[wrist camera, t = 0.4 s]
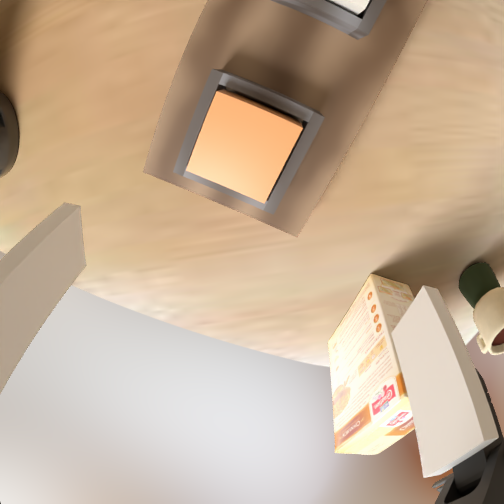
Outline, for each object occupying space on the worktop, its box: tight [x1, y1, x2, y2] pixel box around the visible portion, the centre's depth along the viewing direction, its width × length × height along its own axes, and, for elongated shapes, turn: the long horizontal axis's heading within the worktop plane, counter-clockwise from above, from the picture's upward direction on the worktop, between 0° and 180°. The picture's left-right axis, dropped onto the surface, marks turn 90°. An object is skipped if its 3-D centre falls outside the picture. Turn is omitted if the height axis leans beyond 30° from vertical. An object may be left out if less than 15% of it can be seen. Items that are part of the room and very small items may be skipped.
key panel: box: [143, 0, 427, 237], centre depth 23 cm, size 18×34×8 cm, turn 157°
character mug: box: [459, 263, 504, 355], centre depth 32 cm, size 11×7×13 cm, turn 174°
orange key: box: [186, 89, 303, 204], centre depth 24 cm, size 7×7×3 cm
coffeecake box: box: [328, 274, 415, 455], centre depth 35 cm, size 15×7×20 cm, turn 165°
